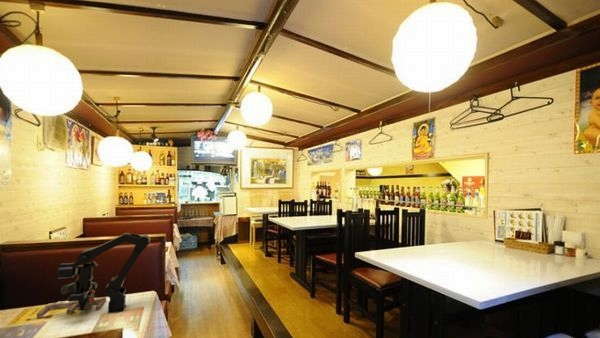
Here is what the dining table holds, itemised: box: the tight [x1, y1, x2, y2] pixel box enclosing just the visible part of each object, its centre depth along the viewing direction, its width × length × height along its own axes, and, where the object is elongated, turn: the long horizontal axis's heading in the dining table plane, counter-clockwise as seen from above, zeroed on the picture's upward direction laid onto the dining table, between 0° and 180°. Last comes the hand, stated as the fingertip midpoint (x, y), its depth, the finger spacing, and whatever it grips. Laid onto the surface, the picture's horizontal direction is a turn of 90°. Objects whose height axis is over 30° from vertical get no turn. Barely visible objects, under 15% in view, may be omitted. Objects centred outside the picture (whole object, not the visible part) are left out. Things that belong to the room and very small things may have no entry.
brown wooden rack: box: [36, 296, 107, 319], centre depth 139 cm, size 25×10×3 cm, turn 110°
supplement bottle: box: [76, 286, 96, 312], centre depth 138 cm, size 6×6×11 cm
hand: (82, 309), depth 133 cm, fingers closed, pressing on supplement bottle
